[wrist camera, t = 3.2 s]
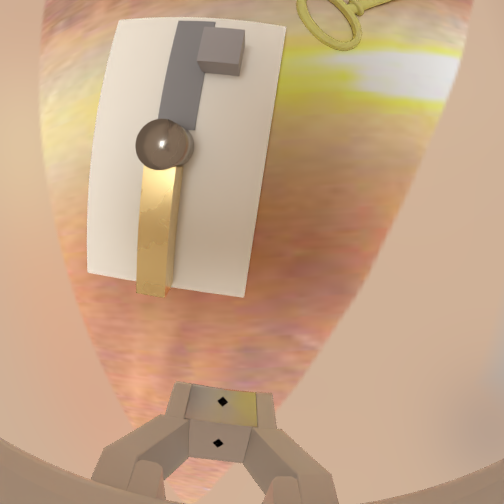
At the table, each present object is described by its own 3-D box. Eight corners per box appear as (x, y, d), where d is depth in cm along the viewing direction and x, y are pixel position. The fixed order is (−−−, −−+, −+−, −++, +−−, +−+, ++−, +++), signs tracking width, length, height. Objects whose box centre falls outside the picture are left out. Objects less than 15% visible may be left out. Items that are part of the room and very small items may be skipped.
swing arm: (154, 123, 22) (139, 117, 19) (197, 126, 22) (188, 120, 19) (140, 278, 26) (126, 295, 22) (179, 284, 26) (170, 303, 22)
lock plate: (123, 24, 20) (105, 6, 16) (284, 31, 21) (291, 10, 17) (92, 268, 27) (71, 285, 23) (243, 292, 28) (243, 314, 24)
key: (403, -2, 20) (411, -10, 18) (342, 61, 23) (349, 54, 21) (348, -42, 19) (354, -52, 17) (279, 15, 21) (281, 5, 19)
